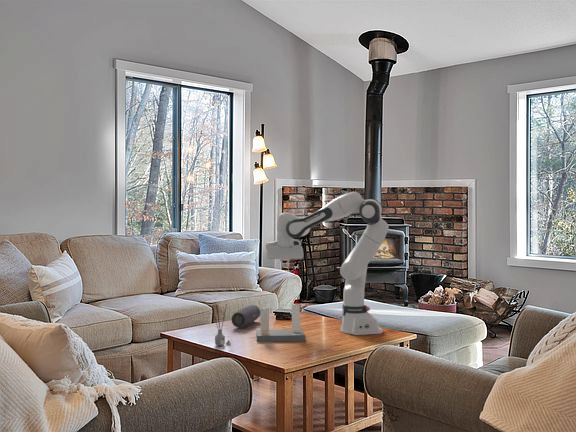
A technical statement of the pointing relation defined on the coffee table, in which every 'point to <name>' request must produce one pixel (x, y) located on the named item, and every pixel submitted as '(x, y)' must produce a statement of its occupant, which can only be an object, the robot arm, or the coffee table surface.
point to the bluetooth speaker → (246, 316)
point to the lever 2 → (295, 317)
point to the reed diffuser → (220, 332)
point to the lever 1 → (264, 320)
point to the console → (280, 336)
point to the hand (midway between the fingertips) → (284, 267)
